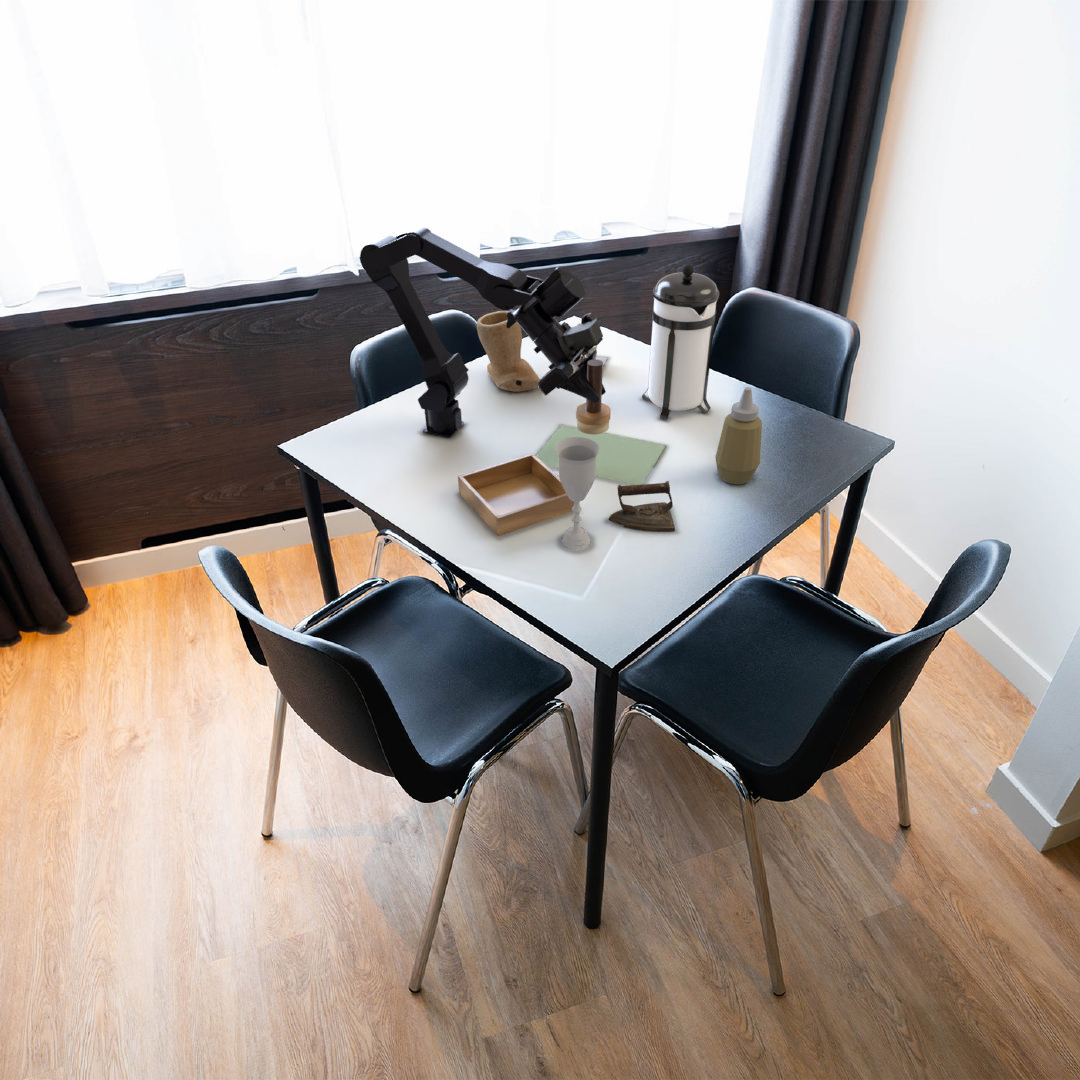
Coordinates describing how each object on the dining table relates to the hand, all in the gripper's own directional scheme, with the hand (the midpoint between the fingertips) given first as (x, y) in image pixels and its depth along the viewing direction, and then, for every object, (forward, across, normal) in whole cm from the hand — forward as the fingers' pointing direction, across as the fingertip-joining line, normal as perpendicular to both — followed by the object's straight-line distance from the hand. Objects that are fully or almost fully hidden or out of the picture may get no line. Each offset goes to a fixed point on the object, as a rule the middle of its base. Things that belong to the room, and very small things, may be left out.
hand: (600, 397), depth 154 cm
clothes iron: (+19, -17, -1) cm, 25 cm away
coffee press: (+14, +27, +4) cm, 31 cm away
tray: (+3, -20, +15) cm, 25 cm away
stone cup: (-12, +24, +31) cm, 41 cm away
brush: (+4, 0, +6) cm, 7 cm away
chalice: (+13, -27, +5) cm, 31 cm away
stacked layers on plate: (-3, +38, +22) cm, 44 cm away
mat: (+9, +1, +9) cm, 13 cm away
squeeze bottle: (+27, +3, -9) cm, 29 cm away
